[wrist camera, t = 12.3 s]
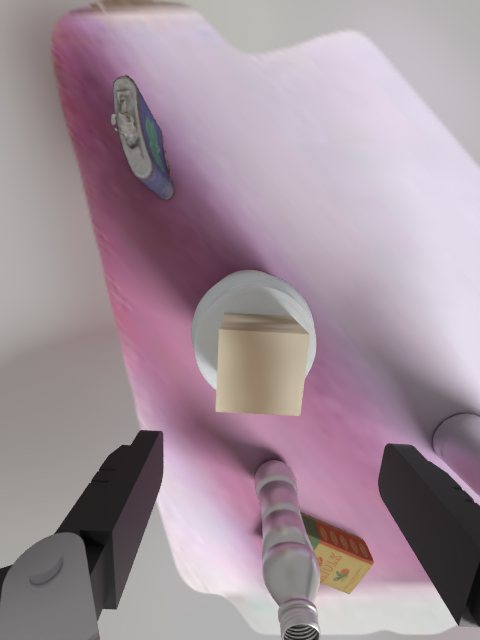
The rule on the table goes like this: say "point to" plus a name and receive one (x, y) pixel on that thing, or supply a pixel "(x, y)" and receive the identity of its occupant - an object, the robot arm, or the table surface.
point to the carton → (338, 554)
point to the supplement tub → (246, 298)
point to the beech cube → (261, 364)
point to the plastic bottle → (287, 553)
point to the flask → (141, 138)
